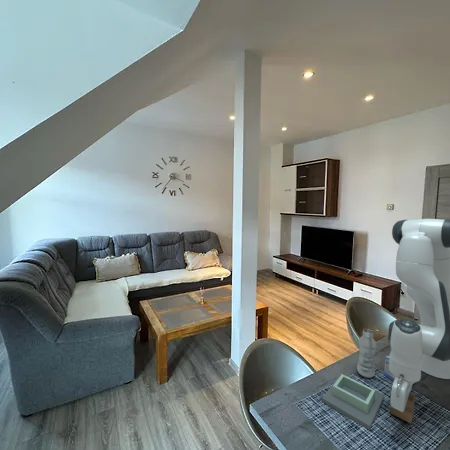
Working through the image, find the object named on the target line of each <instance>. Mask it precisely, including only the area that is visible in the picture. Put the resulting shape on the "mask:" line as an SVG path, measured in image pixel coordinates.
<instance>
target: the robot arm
mask: <svg viewBox="0 0 450 450" xmlns="http://www.w3.org/2000/svg"><path fill="white" fill-rule="evenodd" d="M391 237H392V240H394V242H395V243H396V244H398V247H397V252H396V259H395V260H396V261H395V274H396V277H397V279H398V280H399V281H400V282H402V283H403V284H404V285H405V286H406V288H405V289H406V293H407V295H408V297H410V298H411V300H412V301H413V302H414V304H415V306H416V307H417V310H418V313H419V317H420V323H417V322H415V321H414V320H411V319H408V318H397V319H395V320H392V321H391V322H390V323H389V325H388V336H387V340H388V341H389V344H390V352H389V355H390V356H389V355H388V356H389V370H390V372H391V373H392V374H393V375H394V377H395V380H394V381H393V383H392V387H391V390H390V391H391V392H390V405H391V406H392V407H393V408H395V409H397V410H399V411H401V412H403V411H404V409H405V406H406V403H407V400H408V397H409V394H410V393H411V390H412V387H413V384H415V383H418V382H420V381H421V377H422V372H423V373H425V374H428V375H429V376H432V377H434V378H438V379H443V380H450V218H445V219H442V218H441V219H440V218H439V219H438V218H422V219H421V218H418V219H417V218H416V219H415V218H414V219H402V220H398V221H396V222H395V223H394V225H393V226H392V230H391Z"/></svg>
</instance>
